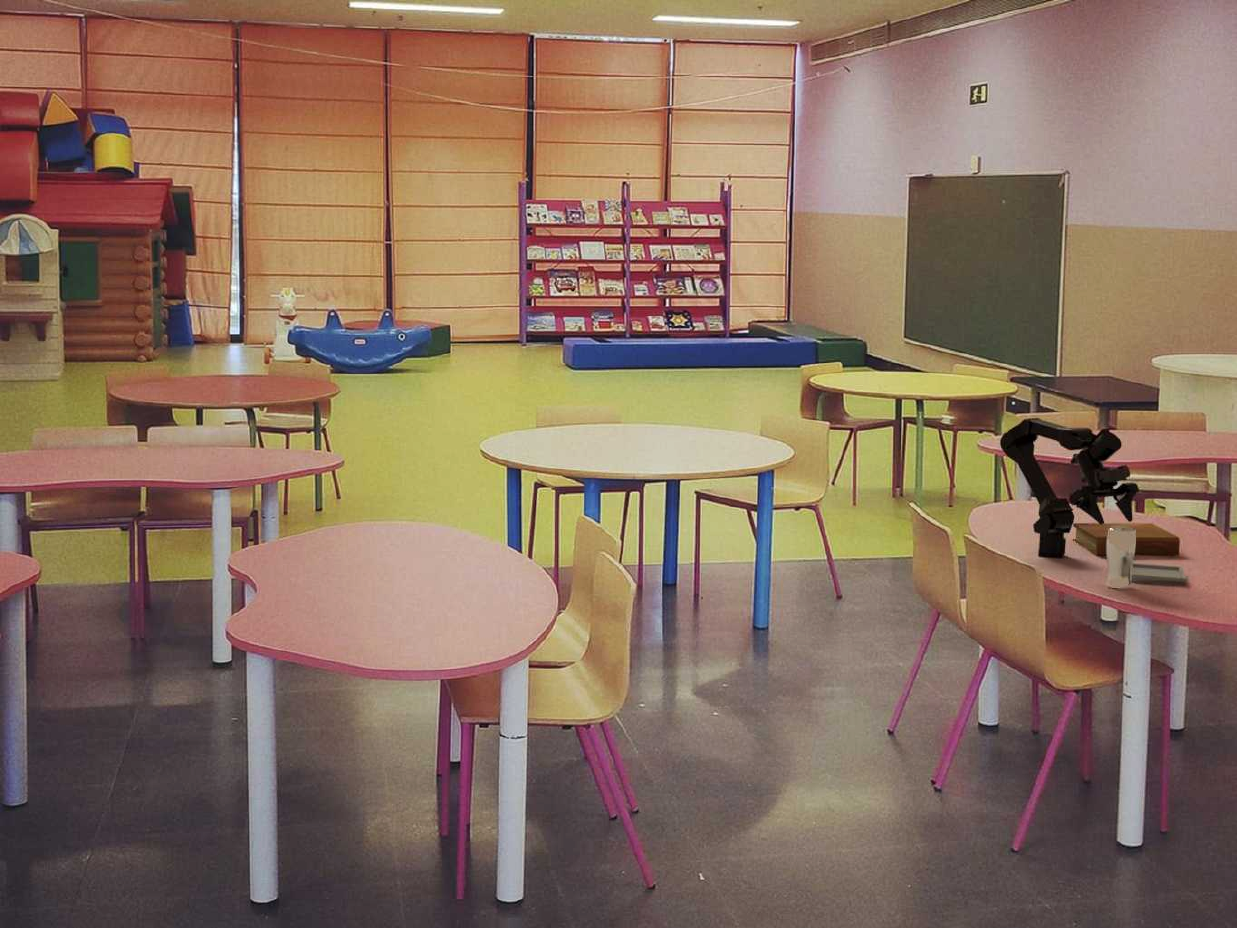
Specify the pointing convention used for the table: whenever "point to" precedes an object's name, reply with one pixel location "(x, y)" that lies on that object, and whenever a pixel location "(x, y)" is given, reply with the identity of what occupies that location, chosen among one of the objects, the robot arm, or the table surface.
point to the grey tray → (1157, 574)
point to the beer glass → (1120, 555)
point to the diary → (1147, 538)
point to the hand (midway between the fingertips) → (1116, 522)
